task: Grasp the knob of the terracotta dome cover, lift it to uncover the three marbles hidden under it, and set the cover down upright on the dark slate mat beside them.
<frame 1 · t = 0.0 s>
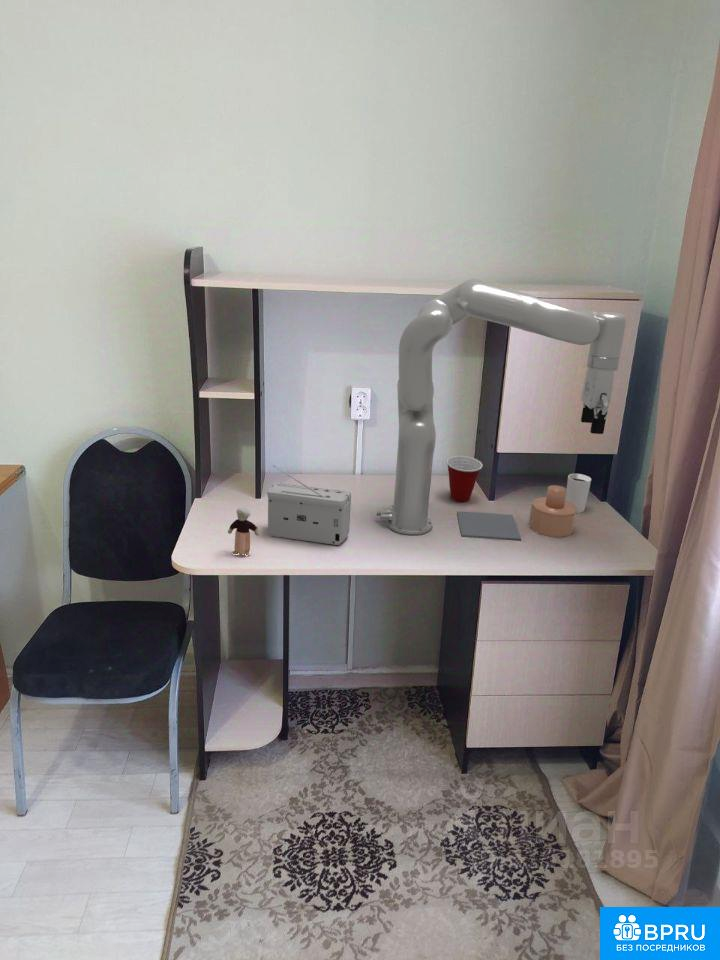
hand: (591, 427, 189), 31 cm above the table, tool pointing down, fingers open, 9 cm apart
slate mat: (487, 526, 204), on the table
stereo radio cassette player: (307, 537, 192), on the table
grandmother figurine: (243, 554, 181), on the table
white cylinder: (574, 509, 219), on the table
terracotta cover: (551, 527, 205), on the table
plastic cup: (460, 499, 221), on the table
teal marble: (549, 524, 207), on the table
dark brown marble: (558, 529, 204), on the table
grey marble: (544, 528, 204), on the table
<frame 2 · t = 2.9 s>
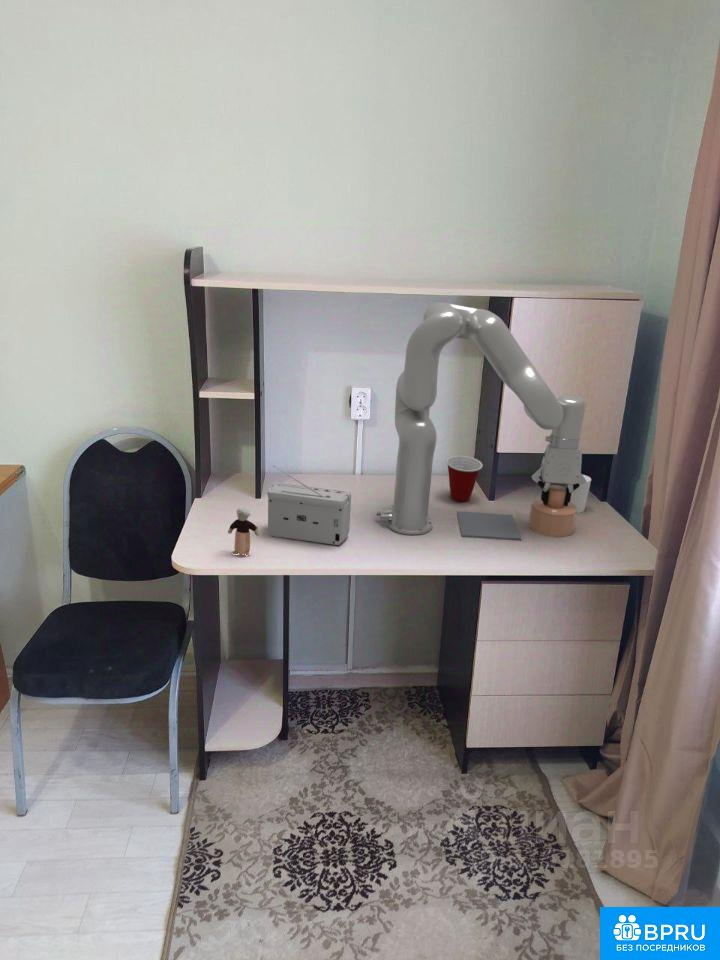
hand: (554, 503, 202), 7 cm above the table, tool pointing down, fingers closed on terracotta cover, 5 cm apart
terracotta cover: (551, 527, 205), on the table, touching gripper
everything else where it was.
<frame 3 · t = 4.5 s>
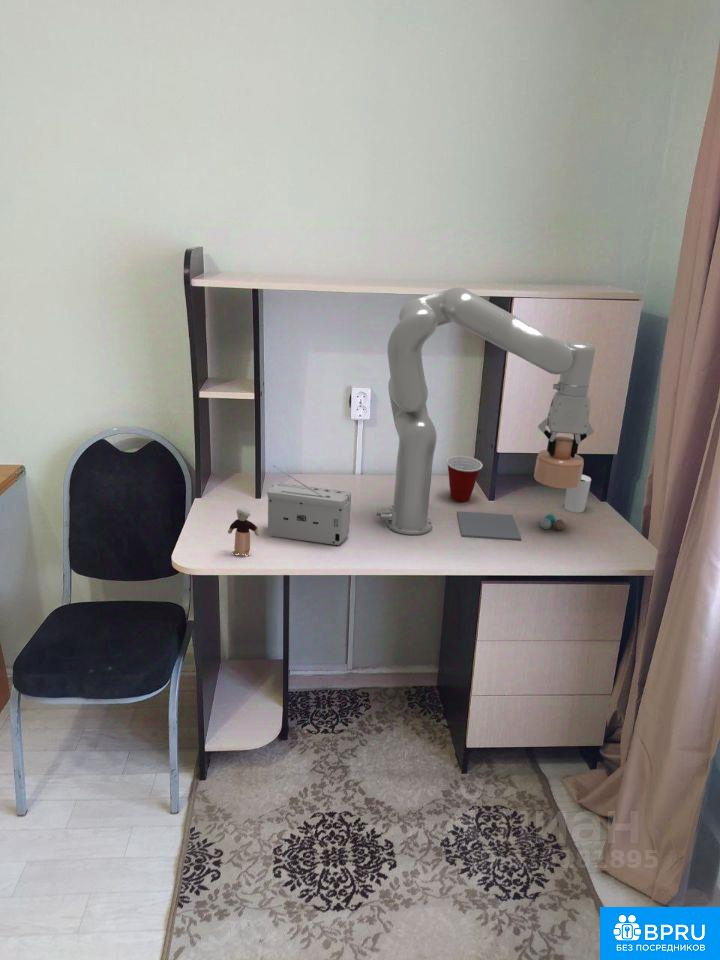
hand: (561, 454, 197), 22 cm above the table, tool pointing down, fingers closed on terracotta cover, 5 cm apart
terracotta cover: (556, 480, 200), point 14 cm above the table, touching gripper
everything else where it was.
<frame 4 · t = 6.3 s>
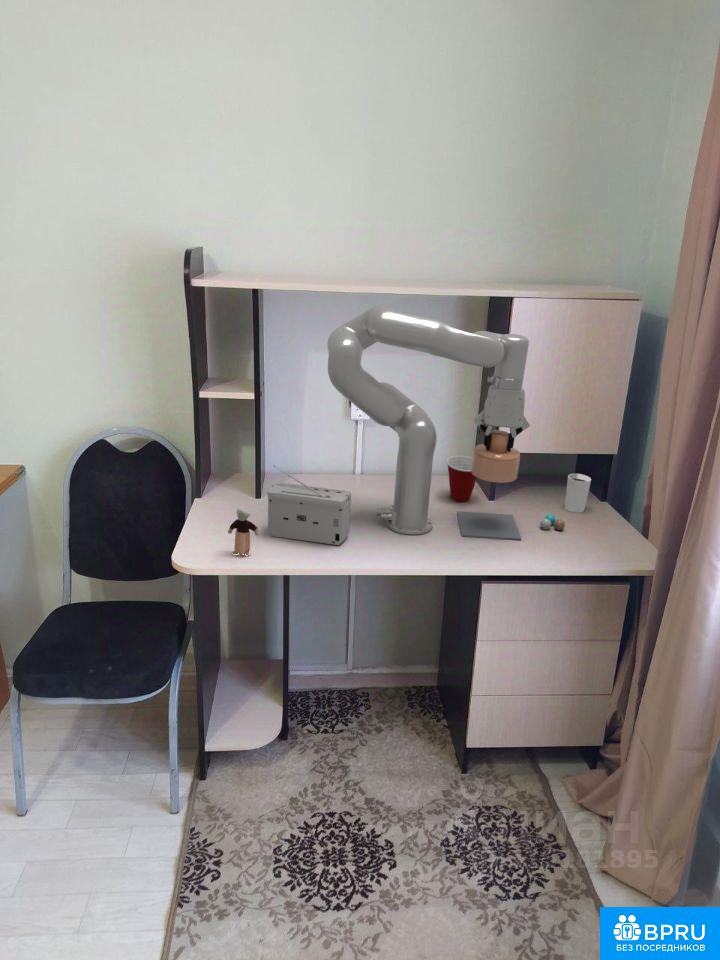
hand: (497, 448, 195), 23 cm above the table, tool pointing down, fingers closed on terracotta cover, 5 cm apart
terracotta cover: (493, 474, 198), point 16 cm above the table, touching gripper
everything else where it was.
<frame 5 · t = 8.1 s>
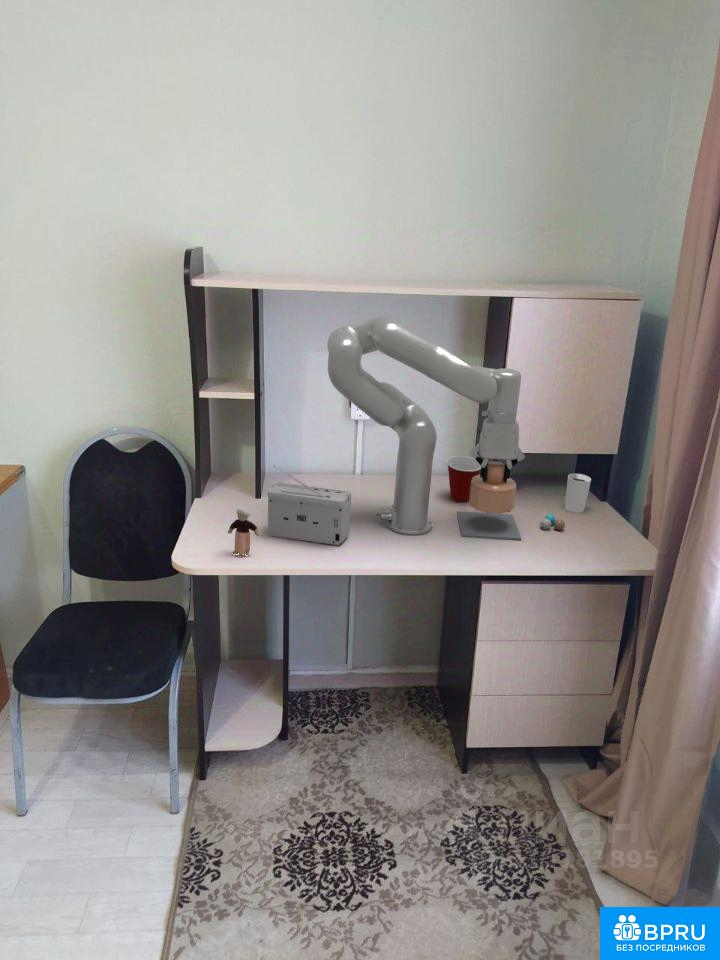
hand: (494, 479, 199), 14 cm above the table, tool pointing down, fingers closed on terracotta cover, 5 cm apart
terracotta cover: (491, 504, 201), point 7 cm above the table, touching gripper
everything else where it was.
when the fingers open (9 cm above the table, at t = 9.8 s): terracotta cover drops 1 cm, resting on slate mat.
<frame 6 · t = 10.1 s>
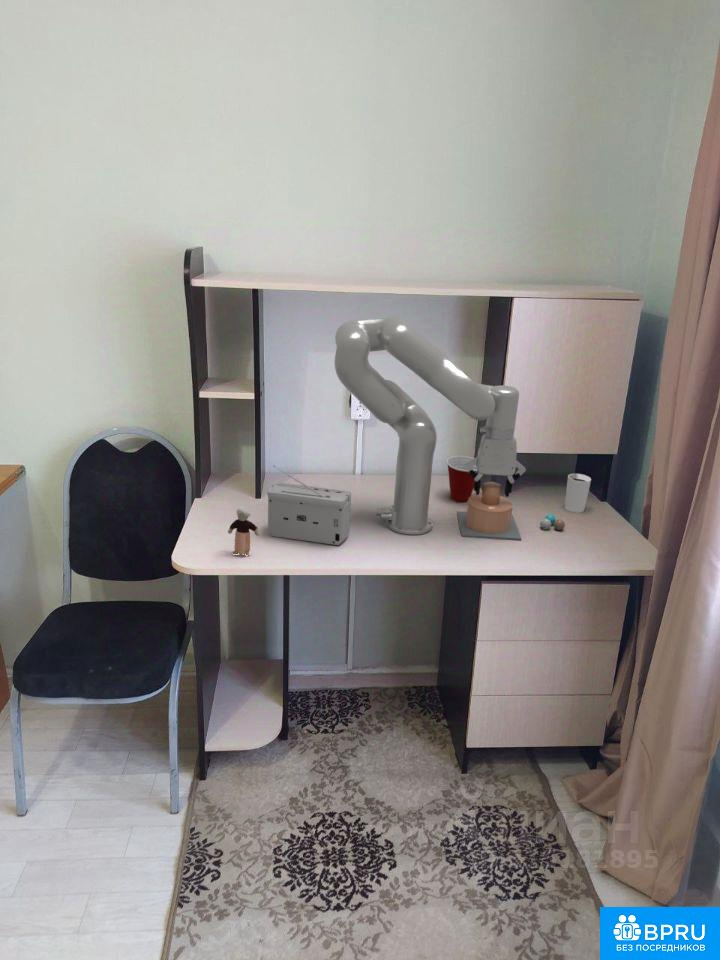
hand: (491, 493, 200), 10 cm above the table, tool pointing down, fingers open, 7 cm apart
terracotta cover: (487, 524, 203), point 1 cm above the table, touching slate mat
everything else where it was.
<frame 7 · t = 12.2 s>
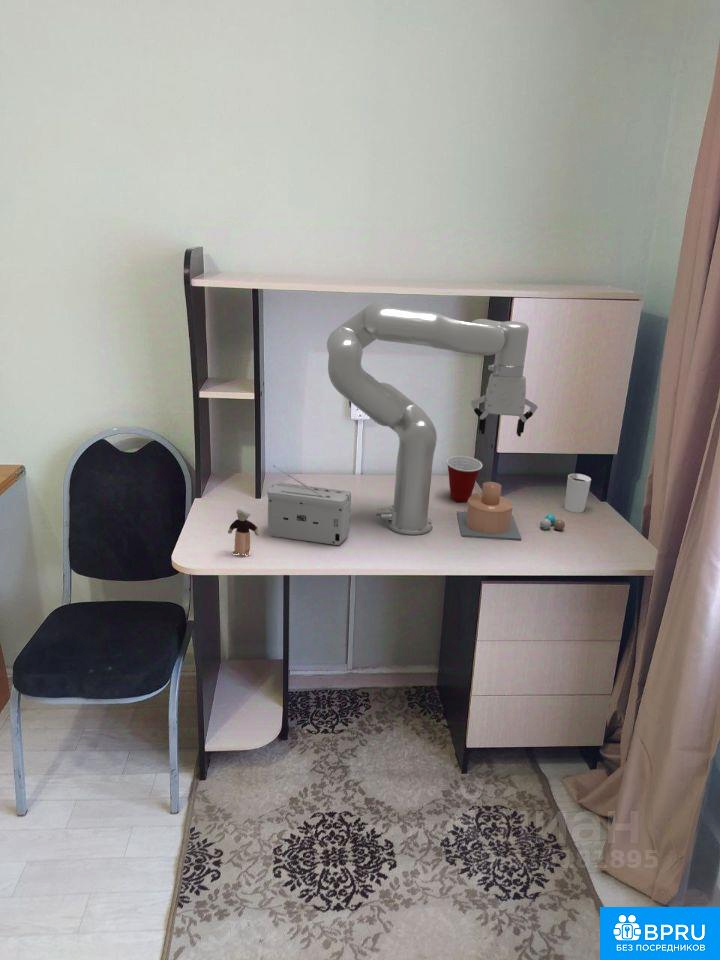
hand: (500, 433, 194), 27 cm above the table, tool pointing down, fingers open, 9 cm apart
nothing on the table moved.
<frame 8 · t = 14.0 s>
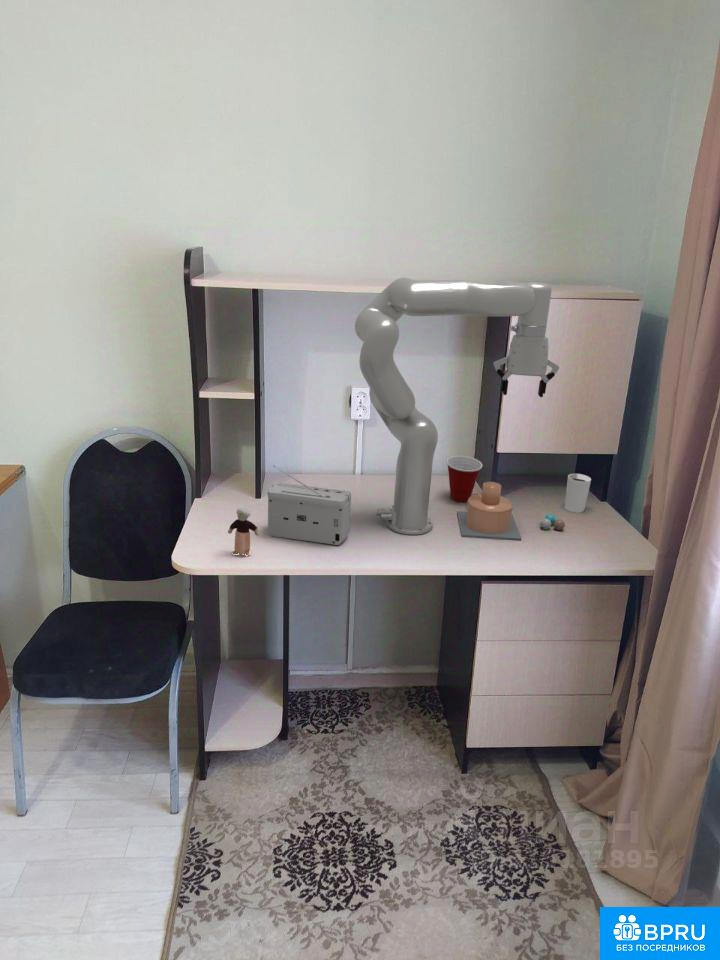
hand: (522, 394, 197), 36 cm above the table, tool pointing down, fingers open, 9 cm apart
nothing on the table moved.
at the end: terracotta cover 0.2 cm off-centre on the slate mat, point 0.6 cm above the slate mat's base; terracotta cover tilted 0°; the gripper is holding nothing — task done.
